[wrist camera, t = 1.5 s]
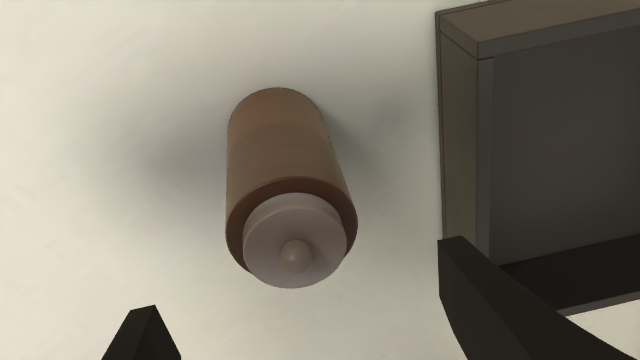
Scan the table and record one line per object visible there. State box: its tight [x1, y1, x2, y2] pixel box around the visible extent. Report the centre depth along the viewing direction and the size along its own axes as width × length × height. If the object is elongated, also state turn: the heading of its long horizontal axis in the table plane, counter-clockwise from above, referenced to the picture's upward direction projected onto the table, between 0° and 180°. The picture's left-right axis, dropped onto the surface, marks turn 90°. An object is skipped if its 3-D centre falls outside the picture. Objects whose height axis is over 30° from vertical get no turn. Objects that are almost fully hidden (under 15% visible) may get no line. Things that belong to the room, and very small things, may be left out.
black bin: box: [435, 0, 640, 317], centre depth 21 cm, size 14×12×4 cm
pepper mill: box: [225, 88, 358, 288], centre depth 17 cm, size 4×4×8 cm
